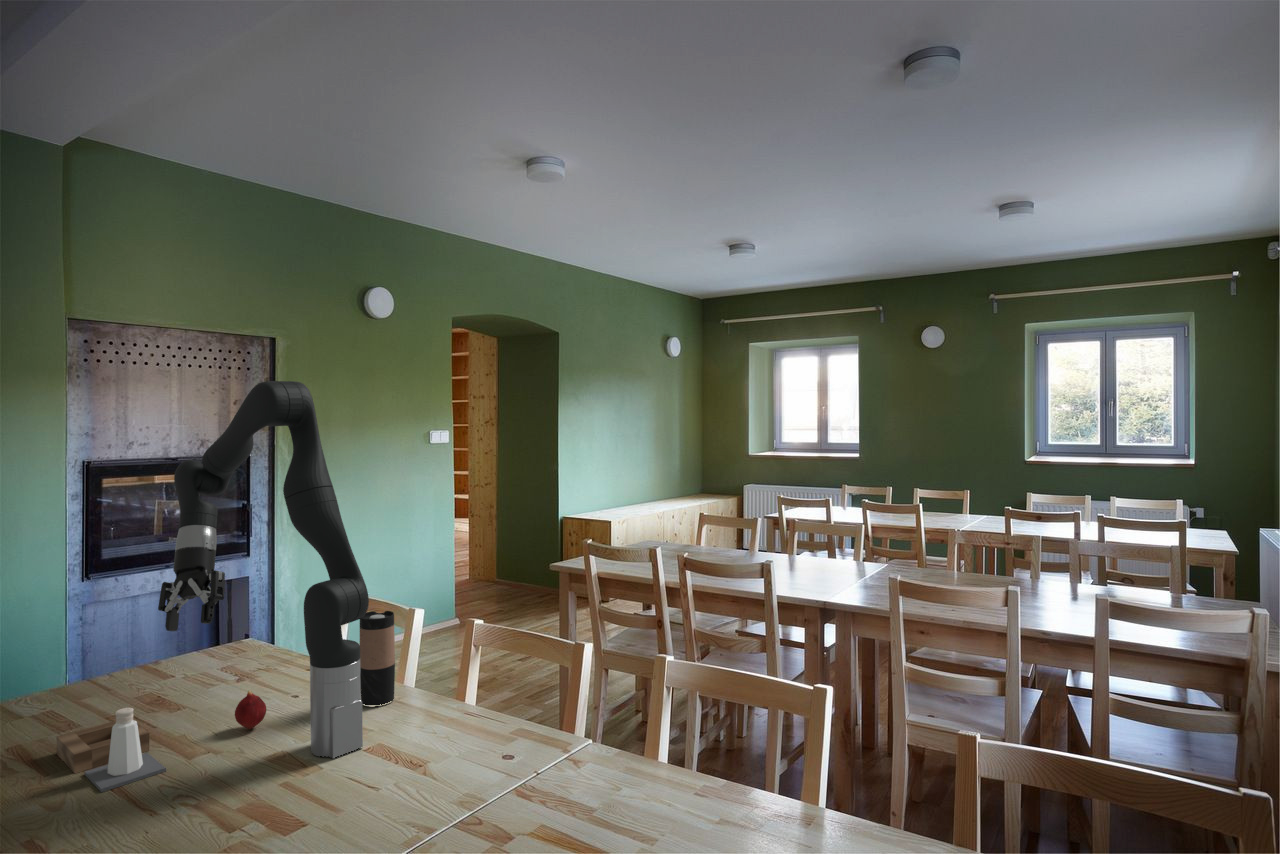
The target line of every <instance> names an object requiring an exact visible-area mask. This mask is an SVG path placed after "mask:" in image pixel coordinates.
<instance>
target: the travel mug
mask: <svg viewBox="0 0 1280 854" xmlns="http://www.w3.org/2000/svg"><path fill="white" fill-rule="evenodd" d="M395 640H396V639H395V613H394V612H393V611H391V610H385V611H384V612H376V611H375V610H374V611H373V610H372V611H367V612H366V614H365V615H364V616H363V617H362V618H361V619H359V645H360V684H361V701H362V704H365V705H380V704H381V705H382V704H385V703H388V702H390V701H392V700H393V699H394V700H395V682H396V681H395V680H396V679H395V678H396V677H395V676H396V650H395V648H396V646H395Z"/></svg>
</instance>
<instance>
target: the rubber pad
mask: <svg viewBox="0 0 1280 854" xmlns="http://www.w3.org/2000/svg"><path fill="white" fill-rule="evenodd" d="M142 760H143V765H142V766H141V767H140V769H139V770H137V771H135V772H132V773H130V774H127V775H120V776H113V775H110V774H108V773H107V772H108V763H107V764H104V765H101V766H98V767H94V768H91V769H88V770H84V771H83V773H84V776H85V777H86V778H87V779H88V781H90V783H91V784H93V785H94V786H95V787H96V789H97V790H99V792H100V793H104V792H106V791H110V790H113V789H116V788H119V787H122V786H126V785H127V784H131V783H134V782H137V781H141V780H143V779H146V778H150V777H153V776H156V775H159V774H162V773H165V772H167V767H166V766H164V765H163V764H162V763H161V762H160V761H158V760H157V759H156V758H155V757H153V756H152V755H151V754H150V753H148V752H143V753H142Z"/></svg>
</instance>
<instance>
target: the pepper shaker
mask: <svg viewBox="0 0 1280 854" xmlns="http://www.w3.org/2000/svg"><path fill="white" fill-rule="evenodd" d="M114 713H115V721H116V724H115V725H114V726H113V727H112V734H111V744H110V753H109V762H108V763H107V764H108V772H107V773H108V774H110V775H113V776H120V775H127V774H130V773H132V772H135V771H137V770H139V769H140V767H141V766H142V765H143V760H142V754H143V753H141V746H140V739H139V732H138V725H139V724H138V721H136V720H135V719H134V708H133V707H123V708H120V709H118V710H116V711H115V712H114ZM137 724H138V725H137Z"/></svg>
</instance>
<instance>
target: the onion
mask: <svg viewBox="0 0 1280 854" xmlns="http://www.w3.org/2000/svg"><path fill="white" fill-rule="evenodd" d="M266 712H267V705H266V703H265V701H264V700H263V699H262V698H261V697H260V696H259V695H256V694H254V693H253V692H252V691H251V690H248V691H247V693H246V696H245V697H243V698H242V699H241V700H240V701H239V702H238V703H237V705H236V707H235V709H234V718H235V721H236V722H237V724H238V725H240V726H241V727H243V728H245V729H246V730H249V729H250V730H253V729H254V728H255V727H257V726H258V725H259V724H260V723H262V721H263V720H264V718H265V716H266Z"/></svg>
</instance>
